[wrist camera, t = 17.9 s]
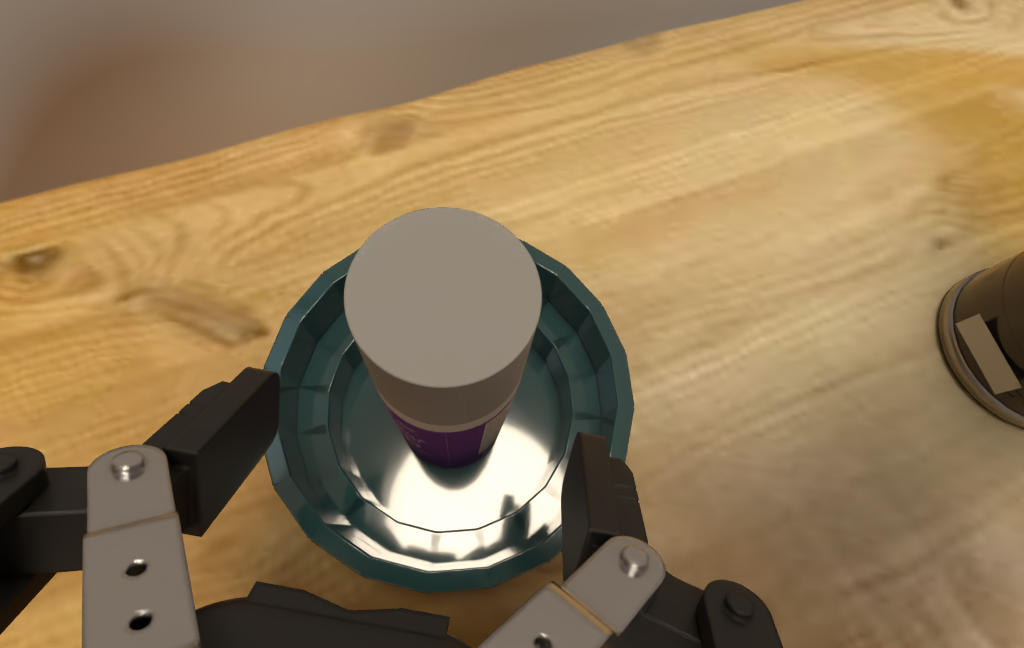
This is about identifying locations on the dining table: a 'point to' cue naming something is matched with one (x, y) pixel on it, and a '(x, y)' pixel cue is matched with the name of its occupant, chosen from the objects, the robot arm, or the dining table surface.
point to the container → (444, 327)
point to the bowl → (425, 488)
